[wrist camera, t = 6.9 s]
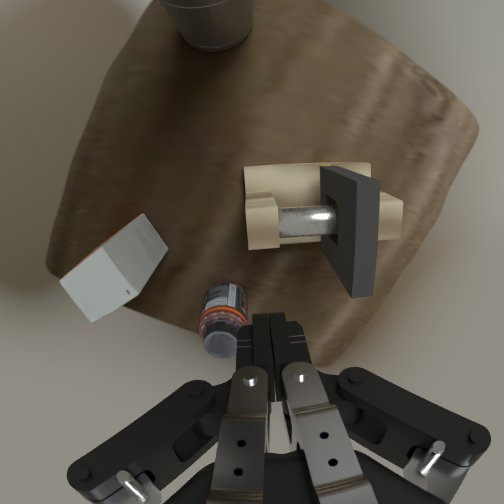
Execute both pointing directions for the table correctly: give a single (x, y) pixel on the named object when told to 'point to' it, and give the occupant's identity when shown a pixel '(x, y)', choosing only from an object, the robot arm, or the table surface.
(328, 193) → the dark grey flat block
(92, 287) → the small box
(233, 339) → the supplement bottle
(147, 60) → the table surface
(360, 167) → the pipe stand
